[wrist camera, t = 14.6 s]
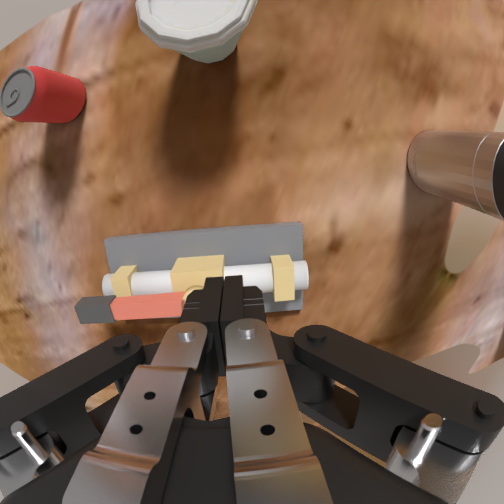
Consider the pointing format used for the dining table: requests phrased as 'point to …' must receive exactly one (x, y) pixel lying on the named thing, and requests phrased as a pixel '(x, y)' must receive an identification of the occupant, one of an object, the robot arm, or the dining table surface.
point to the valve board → (212, 244)
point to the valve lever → (131, 306)
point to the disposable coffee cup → (195, 25)
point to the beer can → (41, 96)
